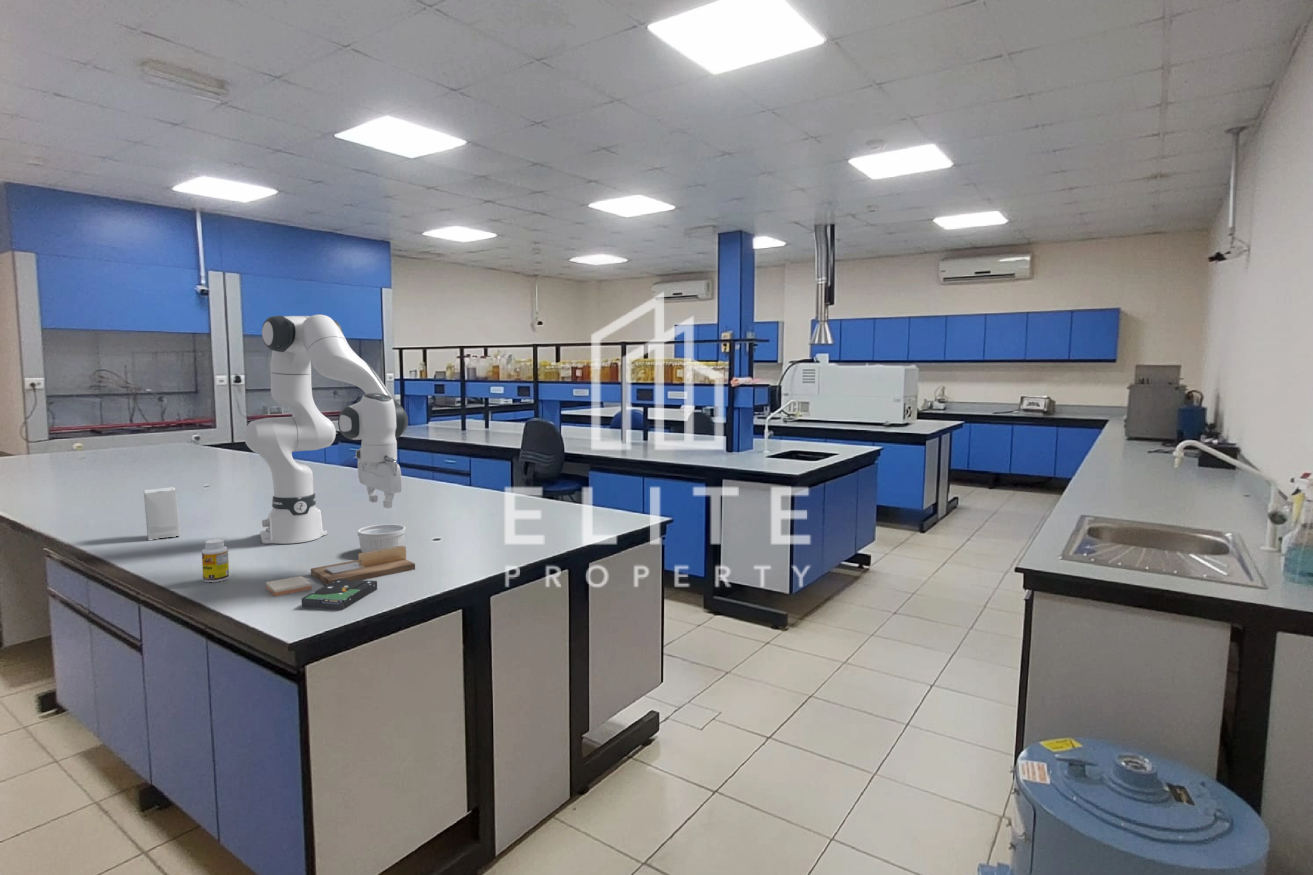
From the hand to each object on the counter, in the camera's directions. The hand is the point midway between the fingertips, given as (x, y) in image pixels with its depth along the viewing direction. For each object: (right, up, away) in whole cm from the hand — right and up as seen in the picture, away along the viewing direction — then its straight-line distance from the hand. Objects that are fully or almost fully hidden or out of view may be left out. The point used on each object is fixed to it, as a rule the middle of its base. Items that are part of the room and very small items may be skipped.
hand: (380, 504), depth 179 cm
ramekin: (-7, -16, +18) cm, 25 cm away
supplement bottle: (-38, -18, -10) cm, 43 cm away
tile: (-18, -18, -14) cm, 29 cm away
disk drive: (0, -20, -23) cm, 31 cm away
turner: (-3, -16, -1) cm, 16 cm away
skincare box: (-83, -14, +32) cm, 90 cm away
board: (-4, -18, -2) cm, 18 cm away
